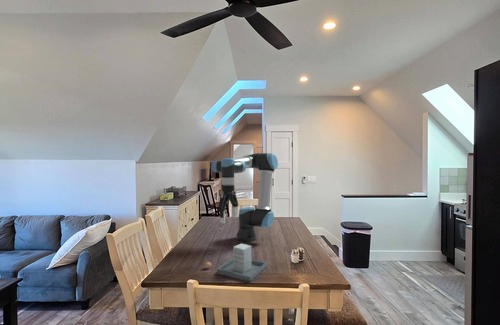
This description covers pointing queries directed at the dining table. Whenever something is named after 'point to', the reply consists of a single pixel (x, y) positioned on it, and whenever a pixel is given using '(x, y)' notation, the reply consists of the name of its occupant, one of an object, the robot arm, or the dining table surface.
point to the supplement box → (242, 258)
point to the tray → (247, 276)
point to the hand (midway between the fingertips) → (228, 220)
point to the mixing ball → (207, 265)
